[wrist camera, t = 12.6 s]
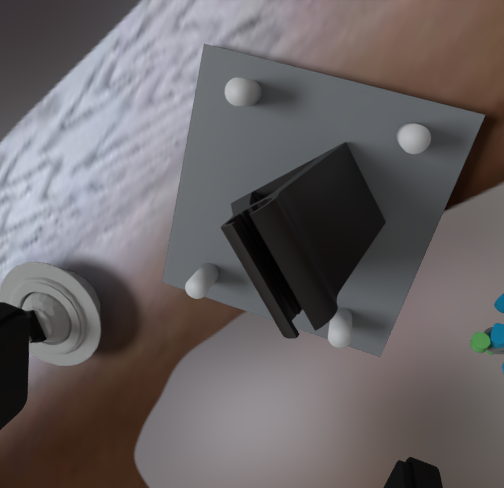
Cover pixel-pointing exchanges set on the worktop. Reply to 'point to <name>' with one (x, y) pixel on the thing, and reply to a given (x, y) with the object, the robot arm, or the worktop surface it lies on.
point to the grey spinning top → (55, 311)
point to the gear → (491, 336)
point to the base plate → (298, 153)
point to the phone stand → (305, 236)
